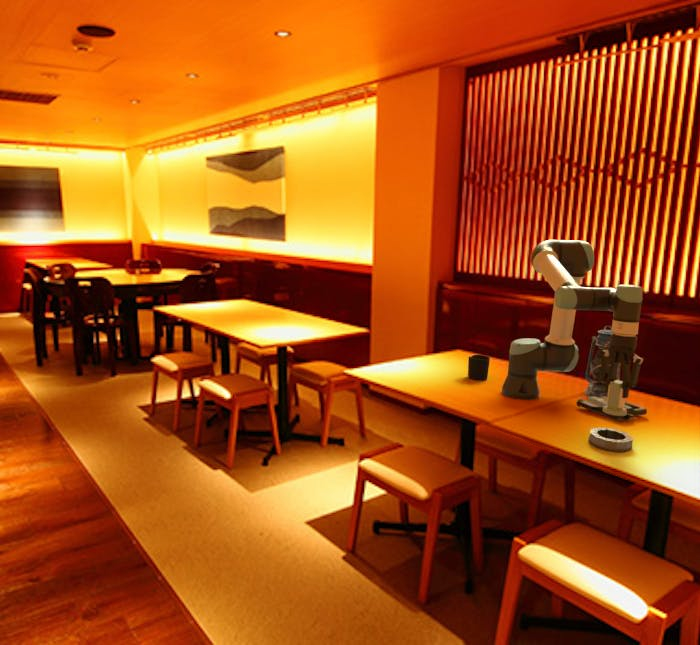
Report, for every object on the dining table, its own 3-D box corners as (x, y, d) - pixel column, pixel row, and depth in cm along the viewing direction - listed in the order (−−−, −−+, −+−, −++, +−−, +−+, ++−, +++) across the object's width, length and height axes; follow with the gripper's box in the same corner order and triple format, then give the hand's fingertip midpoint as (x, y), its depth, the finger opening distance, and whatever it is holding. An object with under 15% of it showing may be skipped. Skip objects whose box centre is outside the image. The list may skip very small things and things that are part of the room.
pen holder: (491, 381, 252) (493, 359, 250) (471, 381, 251) (472, 359, 249) (483, 375, 261) (485, 354, 260) (464, 375, 260) (465, 354, 258)
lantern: (575, 392, 240) (583, 323, 235) (592, 388, 247) (600, 321, 241) (608, 402, 227) (617, 330, 222) (625, 398, 234) (634, 328, 229)
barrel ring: (580, 441, 185) (581, 432, 184) (602, 434, 192) (603, 424, 192) (618, 455, 174) (619, 445, 174) (639, 447, 182) (641, 437, 181)
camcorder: (626, 425, 202) (628, 412, 201) (574, 409, 218) (576, 396, 217) (647, 418, 212) (649, 404, 211) (596, 402, 228) (597, 390, 227)
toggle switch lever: (598, 411, 182) (601, 380, 180) (609, 407, 186) (613, 377, 184) (619, 417, 176) (623, 386, 174) (630, 413, 180) (634, 383, 178)
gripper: (593, 330, 181) (585, 400, 185) (643, 339, 168) (634, 414, 172) (606, 328, 185) (598, 397, 189) (655, 337, 172) (646, 410, 176)
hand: (615, 405), depth 180 cm, fingers closed on toggle switch lever, 3 cm apart
